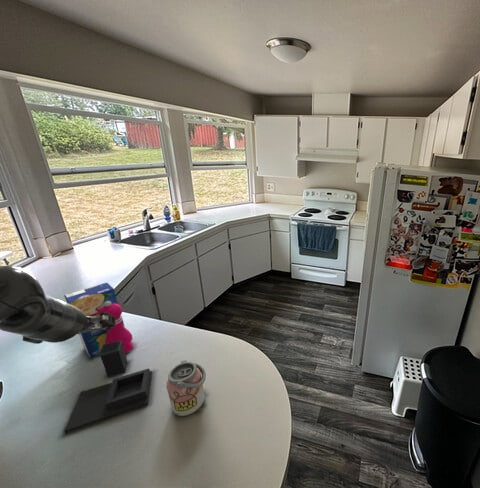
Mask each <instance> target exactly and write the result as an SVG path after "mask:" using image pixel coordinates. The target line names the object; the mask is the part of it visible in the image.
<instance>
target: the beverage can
mask: <svg viewBox="0 0 480 488" xmlns="http://www.w3.org/2000/svg"><path fill="white" fill-rule="evenodd" d="M206 372H207V371H206V370H205V368H203V366H202V365H201V364H199V363H196V362H193V361H188V360H185V359H184V360H181V361H180V363H178V364H176V365H175V366H173V367H172V368H171V369H170V371H169V372H168V373H167V381H166V390H167V395H168V398H169V403H170V407H171V410H172V412H173V414H175V416H179V417H186V416H189V415H192V414H193V413H195V412H196V411H198V410H199V409H200V408H201V407H202V406H203V403H204V401H205V397H206V395H205V390H204V385H203V384H204V383H205V381H206V379H207V378H206V377H207V373H206Z"/></svg>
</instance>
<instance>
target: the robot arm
mask: <svg viewBox="0 0 480 488" xmlns="http://www.w3.org/2000/svg"><path fill="white" fill-rule="evenodd" d="M98 323H100V325H101V326H98ZM90 326H91V328H90V329H87V328H89V327H90ZM114 326H115V316H113V315H111V314H109V313H107V312H102V313H100V317H96V316H85V314H84V313H83V312H82V311H81V310H80V309H78V308H76V307H74V306H72V305H70V304H68V303H67V301H63V300H61V299H58V298H54V297H52V296H50V295H48V294H47V293H45V290H44V288H43V286H42V283H40V281H39V280H38V279H37V277H36V276H35V275H34V273H32V272H31V271H29V270H27V269H25V268H23V267H20V266H15V265H0V331H3V332H6V333H11V334H16V335H19V336H22V341H23V342H26V343H31V344H36V345H39V344H42V343H43V342H46V343H63V342H66V341H68V340H70V339H72V338H74V337H76V336H77V335H79V334H80V333H87V332H94V331H96V330H103V331H105V332H107V331H110V329H112V327H114Z"/></svg>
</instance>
